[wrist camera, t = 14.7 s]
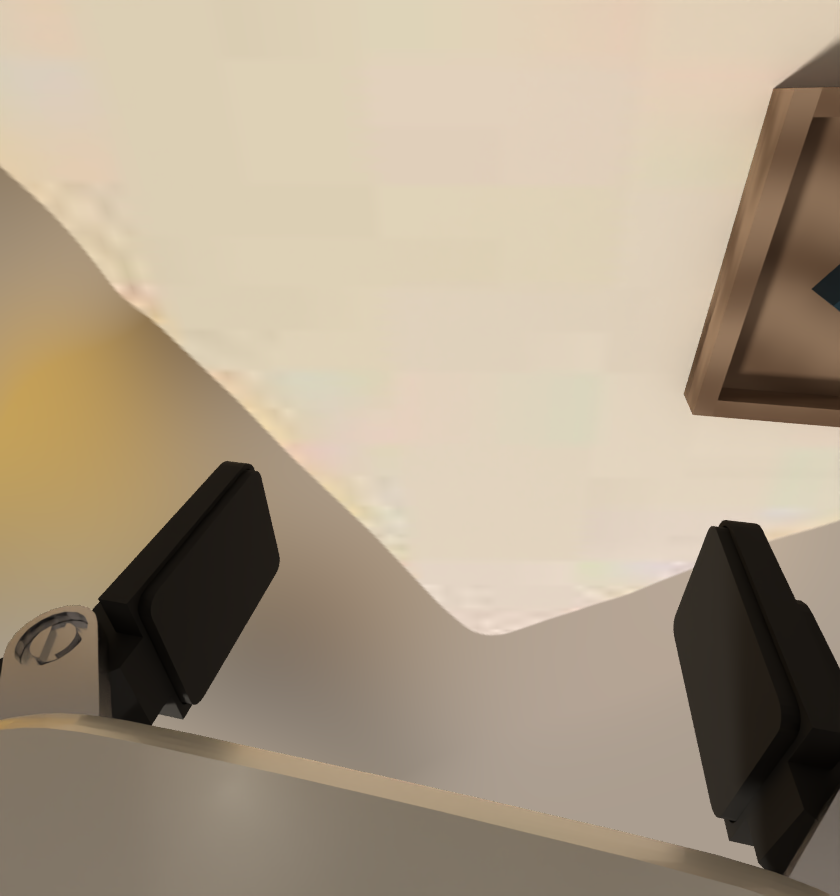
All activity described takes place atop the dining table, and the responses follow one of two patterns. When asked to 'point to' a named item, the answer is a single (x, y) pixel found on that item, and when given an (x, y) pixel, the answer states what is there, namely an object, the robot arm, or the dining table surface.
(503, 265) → the dining table surface
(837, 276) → the watch
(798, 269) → the tray
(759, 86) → the dining table surface
